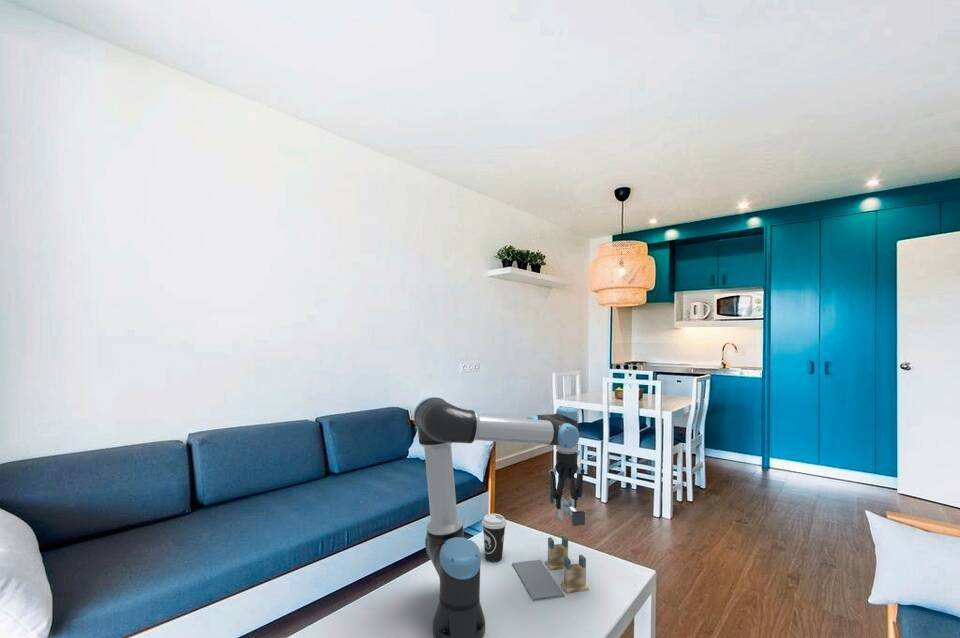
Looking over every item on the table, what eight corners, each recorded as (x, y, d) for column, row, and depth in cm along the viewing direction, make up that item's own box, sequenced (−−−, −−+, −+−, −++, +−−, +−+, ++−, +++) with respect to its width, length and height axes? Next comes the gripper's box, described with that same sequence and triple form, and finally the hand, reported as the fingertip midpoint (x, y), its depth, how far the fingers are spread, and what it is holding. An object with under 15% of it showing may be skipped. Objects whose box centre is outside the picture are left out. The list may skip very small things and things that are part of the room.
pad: (532, 600, 136) (532, 598, 136) (512, 564, 157) (512, 562, 157) (564, 596, 138) (564, 594, 138) (539, 561, 160) (539, 559, 160)
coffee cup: (504, 565, 156) (504, 524, 157) (478, 562, 158) (479, 521, 159) (507, 553, 165) (508, 514, 166) (483, 550, 167) (484, 511, 168)
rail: (584, 524, 142) (585, 512, 142) (573, 526, 141) (573, 513, 141) (559, 501, 161) (559, 490, 162) (549, 502, 160) (549, 491, 161)
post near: (566, 593, 140) (567, 563, 140) (560, 584, 145) (560, 555, 145) (588, 590, 142) (589, 560, 142) (582, 581, 147) (582, 552, 147)
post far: (550, 570, 154) (550, 542, 154) (545, 563, 158) (545, 536, 159) (570, 567, 155) (570, 540, 156) (564, 560, 160) (565, 534, 161)
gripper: (549, 455, 146) (548, 524, 145) (592, 453, 150) (592, 520, 149) (541, 449, 154) (540, 515, 153) (583, 447, 157) (582, 511, 156)
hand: (566, 517), depth 151 cm, fingers closed on rail, 4 cm apart
